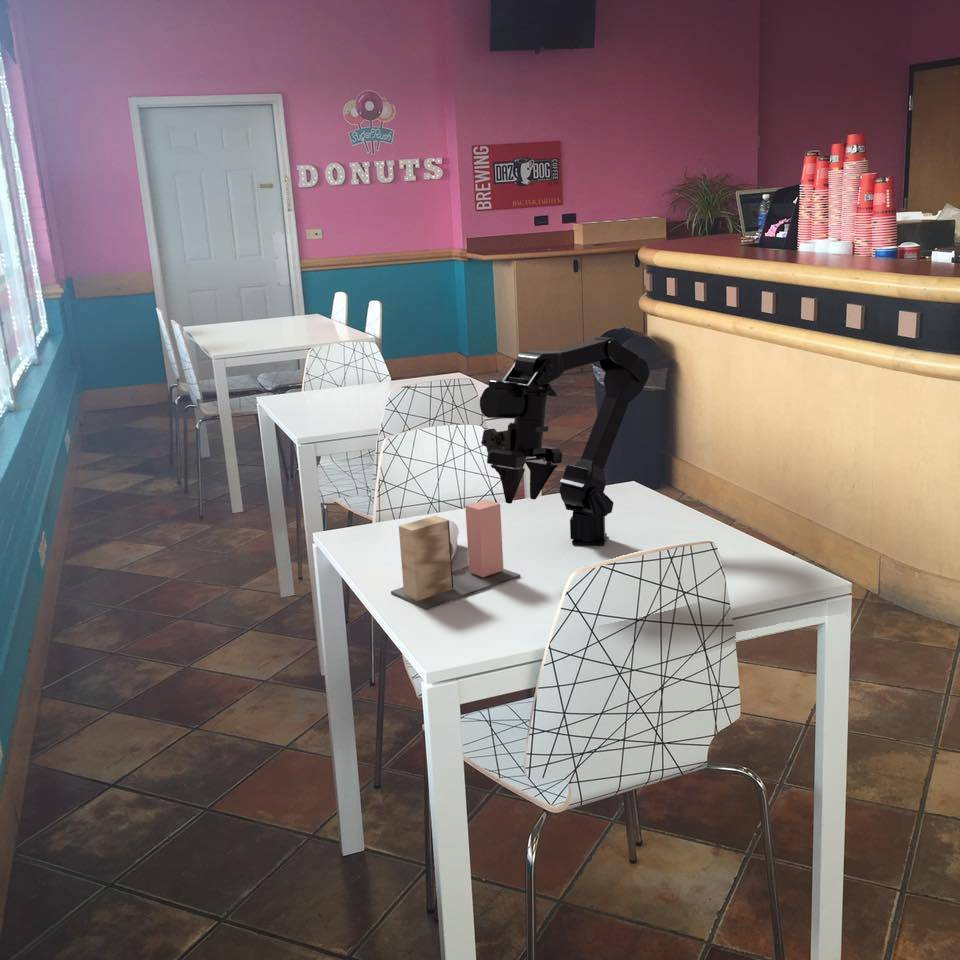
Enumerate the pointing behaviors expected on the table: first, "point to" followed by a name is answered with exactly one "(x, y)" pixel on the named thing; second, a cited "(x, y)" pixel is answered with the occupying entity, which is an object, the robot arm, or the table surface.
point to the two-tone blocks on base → (437, 566)
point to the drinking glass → (453, 537)
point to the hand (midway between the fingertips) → (521, 501)
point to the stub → (484, 538)
